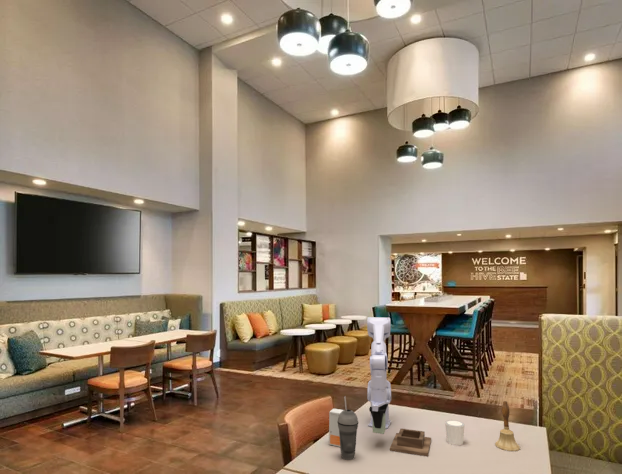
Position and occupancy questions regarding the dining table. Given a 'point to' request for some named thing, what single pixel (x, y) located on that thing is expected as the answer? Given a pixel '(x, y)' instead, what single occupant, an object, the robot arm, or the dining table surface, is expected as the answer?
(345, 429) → the beverage cup
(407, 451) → the well stand
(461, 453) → the dining table surface
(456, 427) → the white ribbed cylinder
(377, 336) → the robot arm
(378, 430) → the block
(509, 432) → the hand bell
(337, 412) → the skincare box
